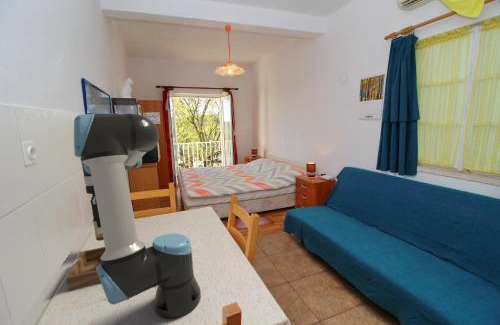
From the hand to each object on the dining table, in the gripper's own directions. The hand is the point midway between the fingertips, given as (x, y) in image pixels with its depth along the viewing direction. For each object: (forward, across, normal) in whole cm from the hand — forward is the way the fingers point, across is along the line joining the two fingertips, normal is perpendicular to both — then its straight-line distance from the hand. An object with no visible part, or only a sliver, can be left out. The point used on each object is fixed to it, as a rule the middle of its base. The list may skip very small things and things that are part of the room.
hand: (102, 230), depth 111 cm
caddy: (+12, -17, -4) cm, 21 cm away
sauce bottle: (+4, 0, 0) cm, 4 cm away
